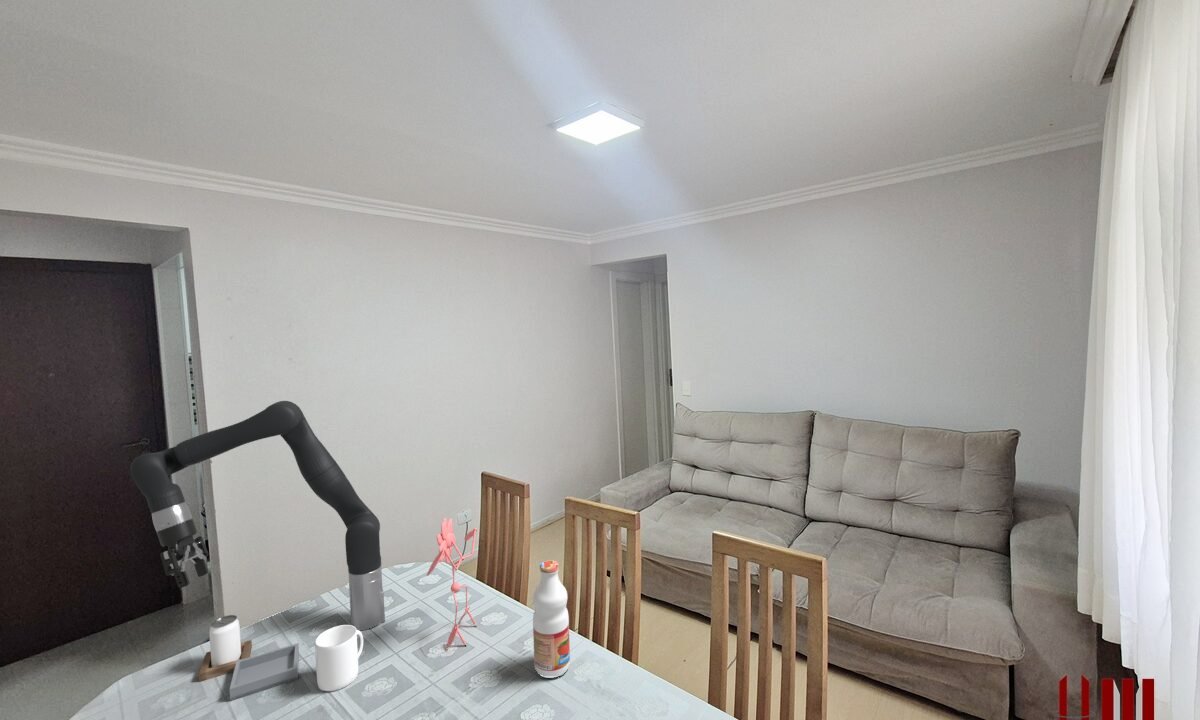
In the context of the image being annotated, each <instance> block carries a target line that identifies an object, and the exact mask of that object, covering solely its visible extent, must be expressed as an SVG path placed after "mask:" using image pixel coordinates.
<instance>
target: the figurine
mask: <svg viewBox="0 0 1200 720" xmlns="http://www.w3.org/2000/svg"><path fill="white" fill-rule="evenodd" d="M440 525H441V526H440V532H441V533H438V534H437V535H436V541H437V544H438V546H439V547H438V554H437V555H436V557H435V558H434V560H433V561H432V562H431V565H430V567H429V569H428V571H427V574H426V576H429V575H430V574H431V573H432V572H433V571H434V570H435V569H436V567H437V565H438V564H439V563H442V562H443V561H444V559H445V563H446V564H449V562H450V564H451V565H452V566H451V567H452V585H451V586H450V591H451V592H452V595H453V599H454V603H455V606H456V607H455V616H454V618H455V619H454V626H453V628H452V630H451V631H450V633H449V636H448V639H447V643H446V647H445V649H446V648H447V649H449V648H450V646H451V645H452V644H453V643H454V641H455V639H456V637H457V635H458V637H459V638H460V641H461V642H462V644H463V645H464V644H467V643H466V641H465V638H464V637H463V636H462V634H461V632H460V631H459V624H458V623H457V615H458V604H457V599H456V598H457V597H456V594H457V593H458V592H460V591H461V588H465V608H464V612H463V615H462V616H461V617H460V618H459V620H458V622H459V623H461V621H462V620H463V619H464V618H465V615H466V614H467V615H468V616H469V617H470V619H471V621H472V623H473V625H474V624H476V625H477V623H476V620H475V619H474V618H473V616H472V613H471V612H470V611H469V609H470V608H471V606H468V585H461V584H460V583H459V582H455V579H456V578H455V571H456V572H457V571H458V570H459V567H460V566H461V562H462V561H465V559H467V558H470V557H472V556H473V555H474V547H475V541H476V533H477V530H478V529H477V527H474V528H473V529H471V530H470V531H469V532H468V533H467V534H466V535H465V537H464V538H463V540H464V542H467V541H469V539H470V540H471V538H472V545H471V552H470V554H468V555H466V556H463V555H462V553H461V552H460V550H459V548H458V546H457V544H456V542H457V541H456V536H455V534H454V533H453V532H454V529H453V518H449V520H448V521H447V518H446V517H444V519H443V520H442V523H441V524H440ZM452 546H453V547H454V549H455V550H456V552H457V554H458V556H459V558H460V559H459V560H457V561H456V562H453V560H452V559H451V556H452ZM455 593H456V594H455Z"/></svg>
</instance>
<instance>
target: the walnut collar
mask: <svg viewBox="0 0 1200 720" xmlns="http://www.w3.org/2000/svg"><path fill="white" fill-rule="evenodd" d="M252 647H253V642H252V639H250V640H246V641H242V642H241V659H239V660H242V659H246V658H249V657H251V652H252ZM239 660H235V661H232V662H229V663H225V664H222V665H218V666H215V667H212V664H211V651H208V652H207V651H206V653H205V655H204V658H203V661H202V664H201V667H200V670H199V672H198V682H199V683H201V682H203V681H206V680H210V679H213V678H216V677H219V676H223V675H226V674H230V673H232V672H233V673H234V670H235V666H236V662H237V661H239Z"/></svg>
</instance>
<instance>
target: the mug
mask: <svg viewBox="0 0 1200 720" xmlns="http://www.w3.org/2000/svg"><path fill="white" fill-rule="evenodd" d="M358 636H359V642H360V644H359V649H358ZM363 648H364V636H363V633H362V631H361V630H357V629H356V628H355V627H354V626H352V625H351V624H341V625H335V626H332V627H330V628H328V629H326V630H324V631H323V632H320V634H319V635H317V637H316V638H315V640H314V649H315V650H314V651H315V653H314V654H315V667H316V668H315V669H316V682H317V688H318V689H319V690H320V691H325V692H336V691H339V690H341V689H344V688H346V687H347V686H348V685H350V684H351V683H353V681H354V680H356V679H357V676H358V675H359V657H360V656H361V654H362V652H363Z"/></svg>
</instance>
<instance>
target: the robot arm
mask: <svg viewBox="0 0 1200 720" xmlns="http://www.w3.org/2000/svg"><path fill="white" fill-rule="evenodd" d="M276 436H280V437H281V438H282V440H284V441H285V443H286V444H287V445H288V446H289V448H290V450H291V451H292V453H293V457H294V459H295V462H296V464H297V468H298V469H299V472H300V474H301V476H302V478H303V479H304V481H305V482H306V484H307V485H308V486H309V488H310V489H311V490H312V492H313V493H314V494H315V495H316V496H317V497H318V498H319V499H321V500H322V501H324V503H326V504H327V505H329V506H330V507H331V508H332V509H333V510H334V511H336V513H337V514H338V516H339V517H340V518H341V521H342V522H343V524H344V525H345V528H346V532H345V536H344V537H345V539H344V540H345V541H344V543H345V556H346V557H345V558H346V564H347V571H348V587H349V588H348V589H349V608H350V625H352V626H354V627H355V628H356V629H357V630H359V631H365V630H369V628H370V629H373V628H375V627H377V626H379V623H380V624H382V623H384V622H385V621H386V615H385V595H384V594H385V593H384V588H383V575H382V574H383V573H382V572H383V571H382V569H383V568H382V556H381V547H380V546H381V545H380V531H381V523H380V521H379V518H378V517H377V516H376V515H375V513H373V511H372V510H371V509H370V508H369V507H368V506H367V505H366V503H365V502H363V500H362V499H361V498H360V497H359V495H358V494H357V492H356V491H355V489H354V487H353V485H352V483H351V482H350V480H349V479H348V477H347V476H346V475H345V473H344V471H343V470H342V467H340V465H339V464H338V463H337V461H336V460H335V459H334V457H333V455H331V453H330V452H329V451H328V449H327V448H326V446H325V445H324V444H323V443H322V442H321V440H320V439H319V438H318V437H317V436H316V434H315V433H314V431H313V429H312V428H311V426H310V423H309V422H308V421H307V418H306V417H305V415H304V413H303V411H302V410H301V408H300V407H299V405H298V404H296V403H294V402H293V401H290V400H279V401H277V402H274V403H272V404H270V405H269V406H267V407H266V408H265V409H263V410H261V411H260V412H258V413H256V414H254V415H252V416H250V417H248V418H246V419H244V420H242V421H239V422H236V423H234V424H231V425H228V426H226V427H225V426H224V427H221V428H217V429H215V430H211V431H207V432H204V433H201V434H198V435H196V436H193V437H191V438H187V439H186V440H183V441H181V442H179V443H177V444H176V445H175V446H172V447H170V448H168V449H167V448H166V449H164V450H161V451H157V452H149V453H143V454H141V455H138V456H137V457H135V458H134V459H133V460H132V462H131V463H130V475H131V478H132V481H133V482H134V484H135V486H137V488H138V489H139V491H140V493H141V494H142V495H143V496H144V497H145V499H146V502H147V505H148V509H149V510H150V514H151V517H152V524H153V526H154V529H155V531H156V535H157V537H158V540H159V543H160V546H161V547H168V550H165V551H164V552H161V553H160V554H159V556H160V559H161V562H162V566H163V569H164V573H165V575H166V576H174V578H175V579H174V580H175V581H176V585H177V588H178V589H182V588H185V587H187V586H189V585H190V580H189V576H188V574H187V571H186V564H187V563H188V562H189V561H191V562H192V563H193V564H194V565H193V566H194V569H195V571H196V574H197V576H198V578H199V577H200V578H202V576H206V575H208V574H209V570H208V567H207V564H206V562H205V560H206V559H207V558H206V557H208V556H209V551H208V549H207V546H206V544H205V541H204V539H203V536H202V535H199V536H196V537H193V536H195V535H197V534H198V529H197V526H196V523H195V521H194V518H193V515H192V513H191V510H190V508H189V506H188V505H187V502H186V499H185V496H184V494H183V491H182V488H181V487H180V486H179V485H178V484H177V483H173V482H172V481H171V478H170V477H169V476H171V475H173V474H176V473H178V472H179V471H182V470H184V469H185V468H188V467H190V466H193V465H196V464H198V463H199V464H200V463H202V462H204V461H207V460H209V459H212V458H215V457H217V456H220V455H221V454H222V455H223V454H225V453H227V452H229V451H231V450H233V449H236V448H239V447H240V446H244V445H246V444H249V443H252V442H253V443H254V442H255V441H260V440H264V439H267V438H272V437H276ZM376 625H377V626H376ZM374 626H375V627H374ZM372 627H373V628H372Z"/></svg>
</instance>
